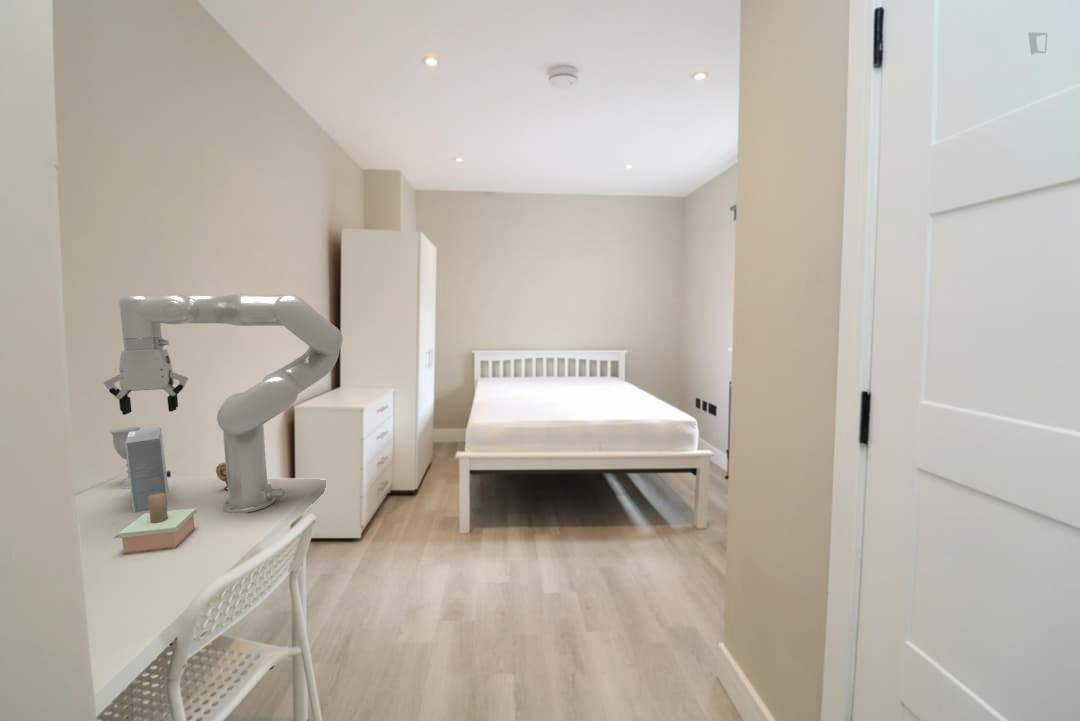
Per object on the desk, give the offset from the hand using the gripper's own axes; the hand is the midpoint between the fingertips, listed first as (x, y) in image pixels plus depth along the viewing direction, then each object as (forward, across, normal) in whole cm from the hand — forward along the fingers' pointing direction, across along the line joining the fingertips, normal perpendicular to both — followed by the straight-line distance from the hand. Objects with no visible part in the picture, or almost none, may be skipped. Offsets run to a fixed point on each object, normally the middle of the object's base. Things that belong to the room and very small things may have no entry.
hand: (150, 412), depth 124 cm
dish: (+29, -5, +15) cm, 33 cm away
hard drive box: (+29, +7, -15) cm, 33 cm away
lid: (+24, -5, +15) cm, 29 cm away
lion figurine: (+29, -14, -21) cm, 38 cm away
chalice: (+29, +19, -33) cm, 48 cm away
